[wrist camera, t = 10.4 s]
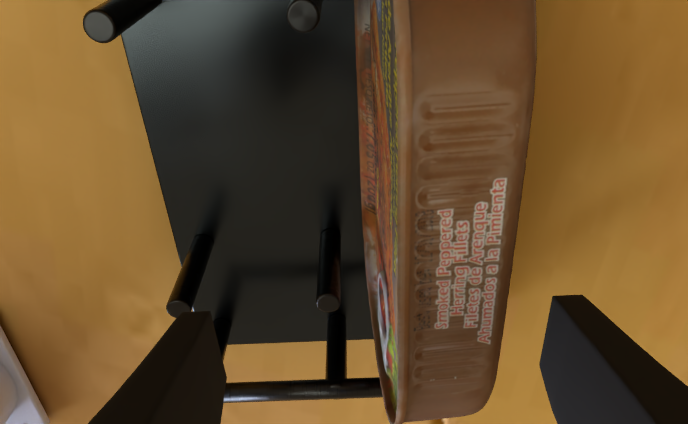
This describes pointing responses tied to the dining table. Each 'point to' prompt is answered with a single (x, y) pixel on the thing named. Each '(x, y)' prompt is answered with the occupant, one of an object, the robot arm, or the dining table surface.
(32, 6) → the dining table surface
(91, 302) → the dining table surface
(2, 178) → the dining table surface
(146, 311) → the dining table surface
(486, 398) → the tin
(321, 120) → the rack
